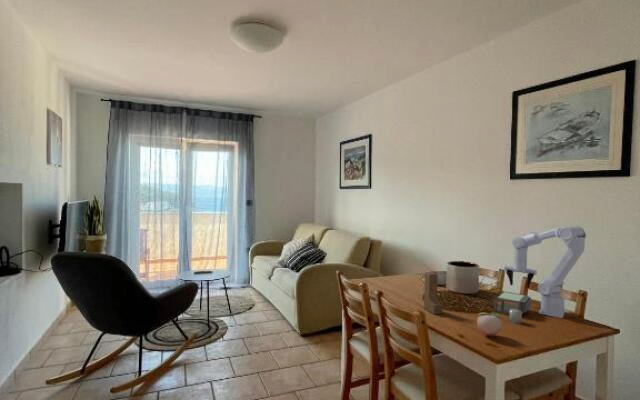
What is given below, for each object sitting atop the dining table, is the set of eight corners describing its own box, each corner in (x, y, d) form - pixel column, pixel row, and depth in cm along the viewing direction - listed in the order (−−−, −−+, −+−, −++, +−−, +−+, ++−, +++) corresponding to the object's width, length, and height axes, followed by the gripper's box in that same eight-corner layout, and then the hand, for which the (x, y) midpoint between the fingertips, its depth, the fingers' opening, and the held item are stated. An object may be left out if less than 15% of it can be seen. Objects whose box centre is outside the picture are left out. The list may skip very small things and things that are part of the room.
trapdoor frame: (527, 309, 174) (527, 295, 174) (520, 317, 163) (521, 302, 163) (501, 304, 182) (502, 291, 182) (494, 311, 171) (494, 297, 170)
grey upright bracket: (442, 314, 166) (443, 276, 166) (434, 314, 165) (434, 276, 165) (432, 307, 175) (432, 271, 175) (423, 308, 174) (424, 272, 174)
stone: (522, 321, 158) (522, 310, 158) (520, 324, 155) (520, 313, 154) (510, 318, 161) (510, 308, 161) (508, 321, 158) (508, 310, 157)
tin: (450, 284, 220) (451, 271, 220) (452, 286, 217) (452, 272, 217) (426, 283, 222) (426, 270, 221) (427, 285, 218) (427, 271, 218)
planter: (458, 295, 196) (459, 267, 196) (440, 287, 213) (440, 261, 213) (485, 293, 201) (486, 266, 201) (465, 285, 218) (465, 260, 218)
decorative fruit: (480, 339, 138) (480, 314, 138) (474, 331, 146) (475, 307, 146) (505, 341, 137) (506, 315, 136) (499, 333, 145) (499, 309, 144)
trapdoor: (530, 306, 172) (531, 296, 172) (525, 312, 163) (526, 302, 163) (503, 300, 180) (504, 292, 180) (497, 306, 171) (497, 297, 171)
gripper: (538, 260, 180) (537, 287, 181) (506, 257, 190) (506, 282, 190) (535, 262, 175) (534, 290, 175) (503, 259, 184) (502, 284, 185)
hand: (519, 286), depth 182 cm, fingers open, 7 cm apart
